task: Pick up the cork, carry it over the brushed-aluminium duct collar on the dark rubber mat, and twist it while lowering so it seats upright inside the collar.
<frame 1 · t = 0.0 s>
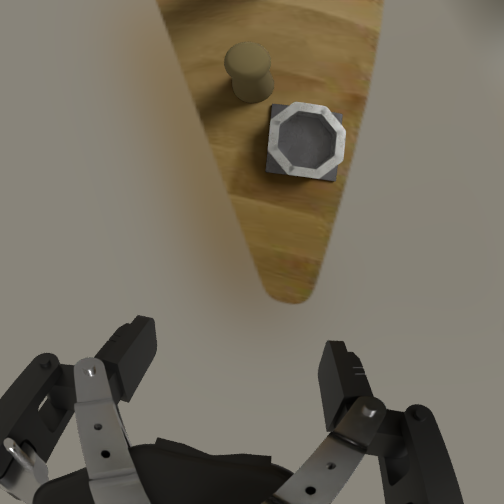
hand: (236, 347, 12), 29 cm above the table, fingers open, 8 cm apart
cork: (253, 84, 34), on the table
duct collar: (304, 141, 36), on the table
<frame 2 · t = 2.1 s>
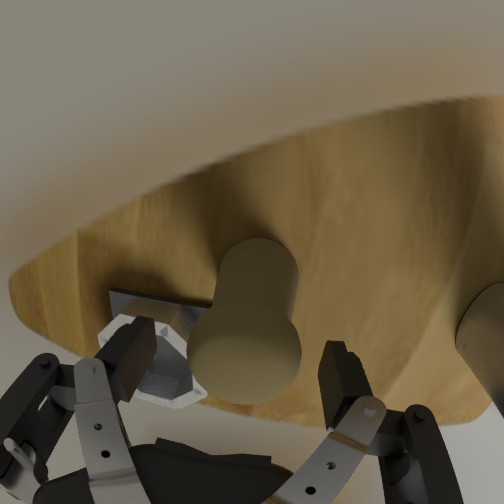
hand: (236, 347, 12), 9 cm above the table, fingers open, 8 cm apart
cork: (258, 275, 21), on the table
duct collar: (164, 343, 24), on the table
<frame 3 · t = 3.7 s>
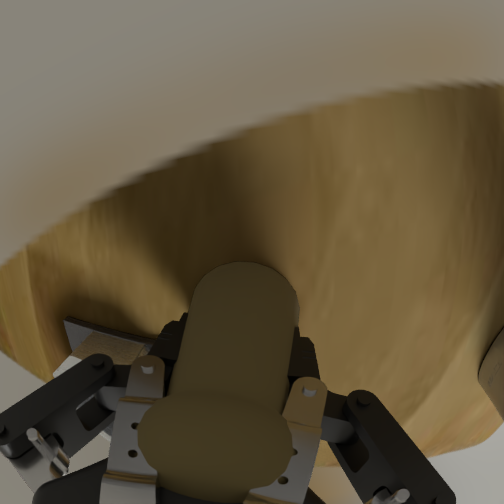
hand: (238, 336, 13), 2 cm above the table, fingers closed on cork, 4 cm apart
cork: (244, 311, 15), on the table, touching gripper
duct collar: (132, 383, 18), on the table
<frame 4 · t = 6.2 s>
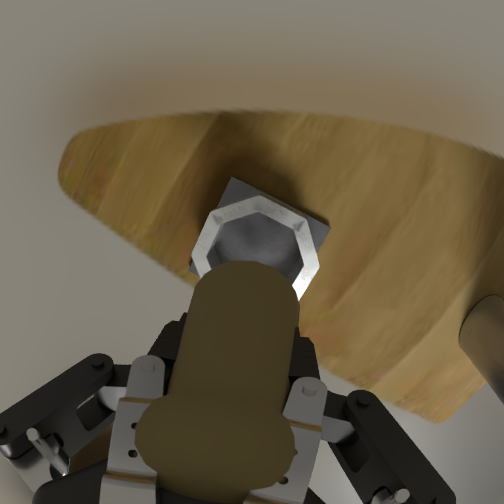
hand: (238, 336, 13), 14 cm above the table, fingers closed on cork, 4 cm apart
cork: (245, 309, 15), point 11 cm above the table, touching gripper
duct collar: (257, 248, 26), on the table
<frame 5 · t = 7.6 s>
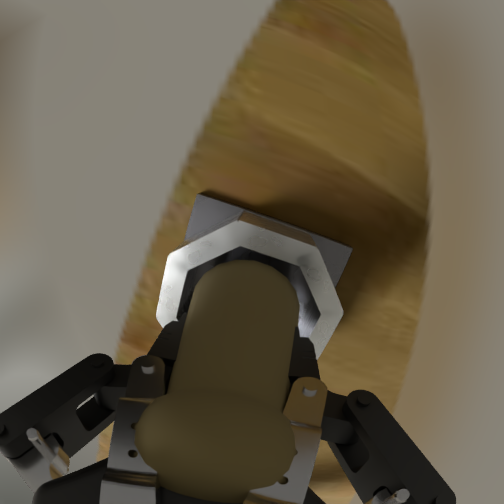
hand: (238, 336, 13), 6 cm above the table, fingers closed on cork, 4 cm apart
cork: (245, 309, 15), point 3 cm above the table, touching gripper
duct collar: (251, 289, 18), on the table
when the fingers open (5 cm above the table, at t = 8.6 s): cork stays where it is, resting on duct collar.
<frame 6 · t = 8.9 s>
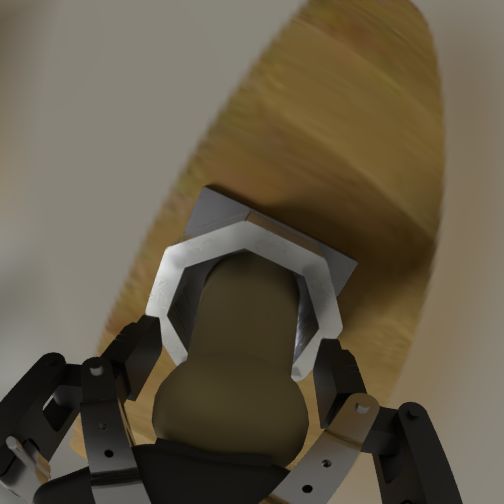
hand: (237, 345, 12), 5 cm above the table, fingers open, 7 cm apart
cork: (250, 297, 17), resting on duct collar
duct collar: (247, 293, 17), on the table
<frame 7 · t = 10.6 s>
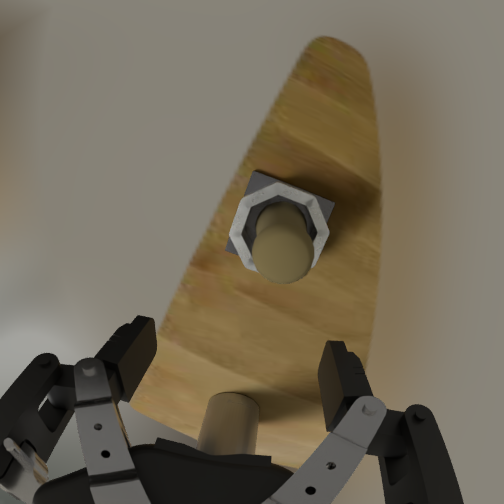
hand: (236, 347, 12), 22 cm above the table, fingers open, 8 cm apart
cork: (281, 226, 32), resting on duct collar
duct collar: (279, 225, 32), on the table
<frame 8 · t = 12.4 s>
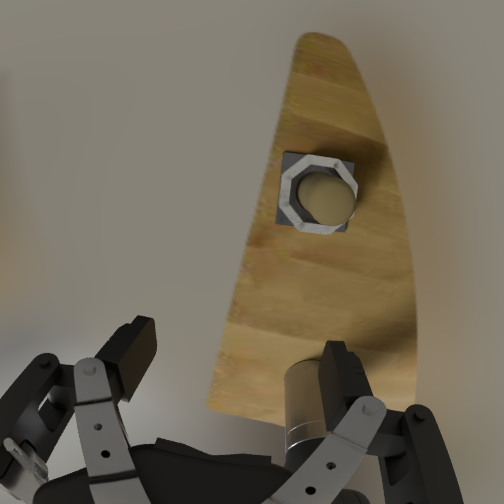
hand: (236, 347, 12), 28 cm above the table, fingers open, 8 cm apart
cork: (317, 192, 36), resting on duct collar
duct collar: (315, 192, 37), on the table
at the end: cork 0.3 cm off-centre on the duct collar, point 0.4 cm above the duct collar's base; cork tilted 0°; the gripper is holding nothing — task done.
